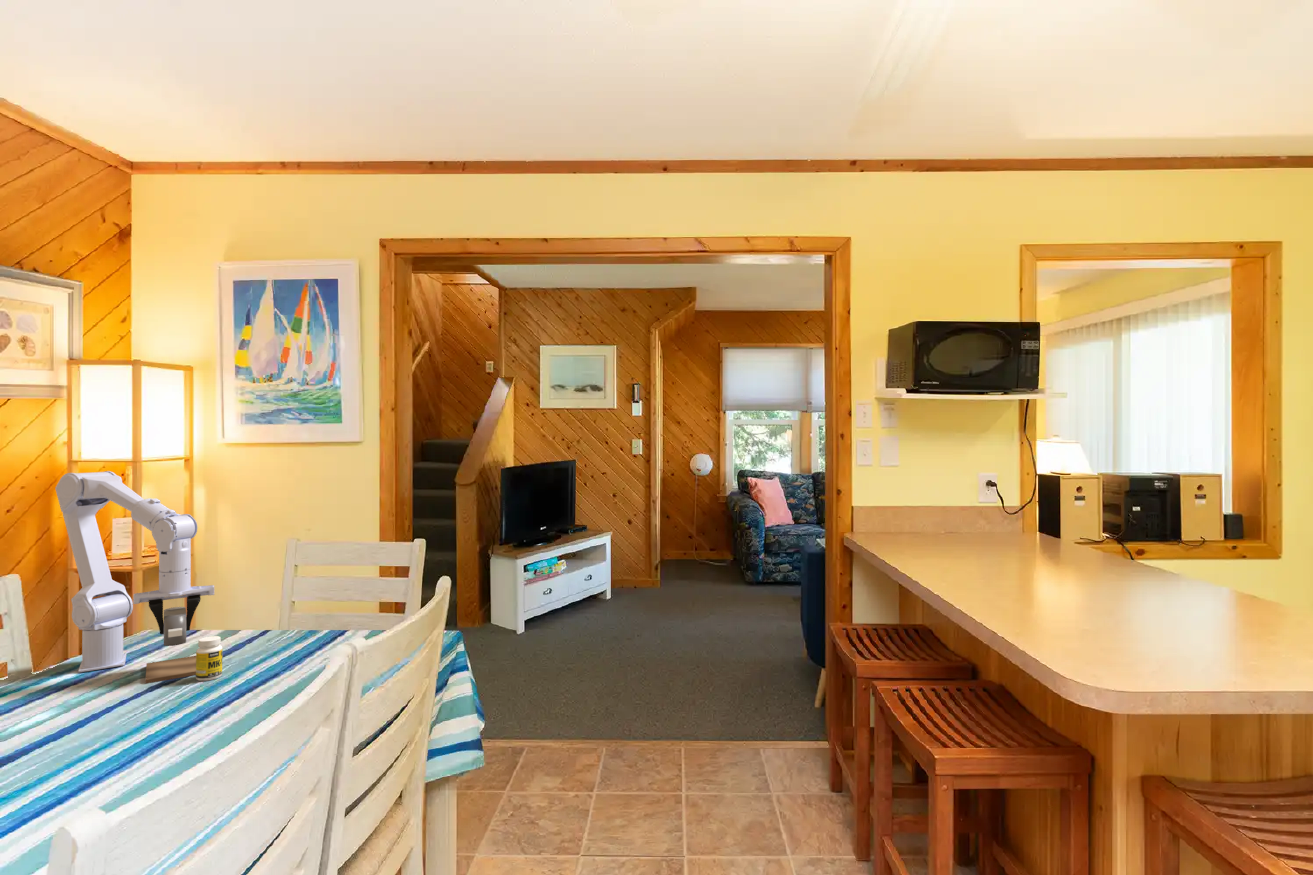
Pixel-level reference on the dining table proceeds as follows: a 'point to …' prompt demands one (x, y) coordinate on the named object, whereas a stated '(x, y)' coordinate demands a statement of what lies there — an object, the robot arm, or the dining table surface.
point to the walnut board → (170, 669)
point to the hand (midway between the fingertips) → (174, 631)
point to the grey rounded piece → (174, 626)
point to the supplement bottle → (209, 658)
